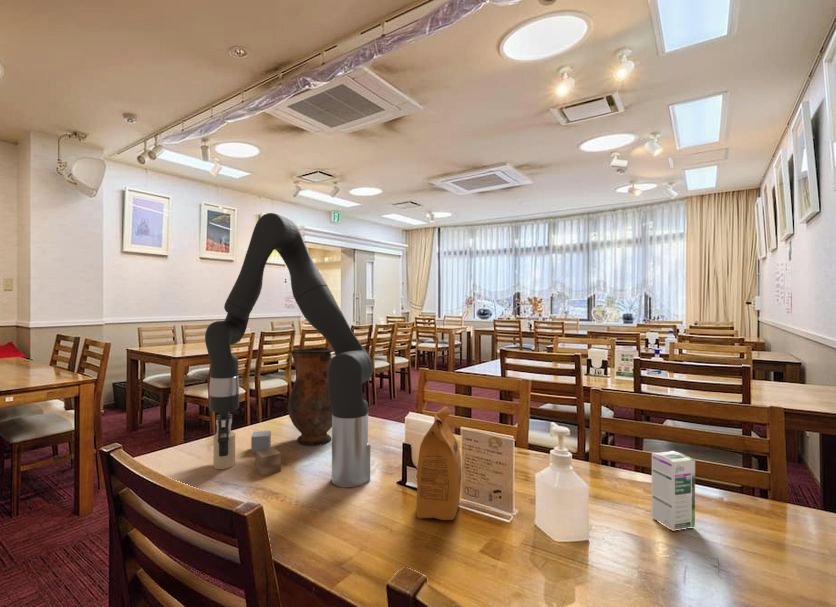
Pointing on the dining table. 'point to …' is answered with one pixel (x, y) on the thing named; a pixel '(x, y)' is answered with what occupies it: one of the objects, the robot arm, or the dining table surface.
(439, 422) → the coffee package
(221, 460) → the candle
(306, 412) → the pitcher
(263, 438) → the slate block
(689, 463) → the syrup box
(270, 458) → the walnut block
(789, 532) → the dining table surface
